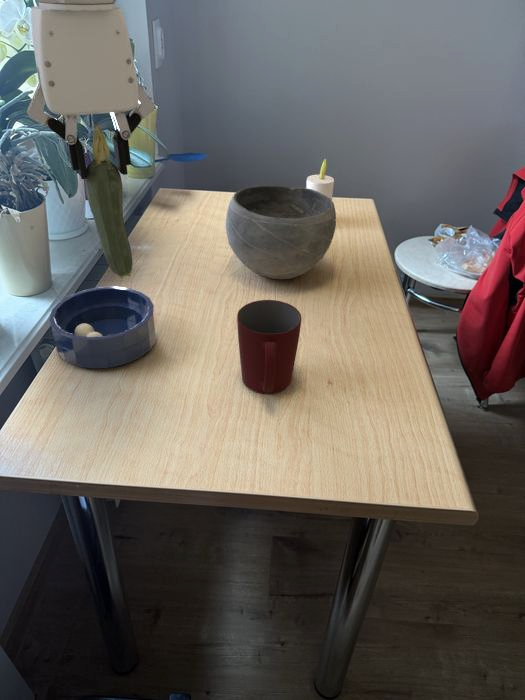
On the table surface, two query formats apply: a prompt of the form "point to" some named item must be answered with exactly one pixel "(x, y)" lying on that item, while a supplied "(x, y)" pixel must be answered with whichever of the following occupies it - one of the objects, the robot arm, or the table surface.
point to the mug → (268, 344)
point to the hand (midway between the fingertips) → (102, 172)
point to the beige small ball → (83, 329)
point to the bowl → (280, 229)
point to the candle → (321, 182)
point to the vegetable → (108, 206)
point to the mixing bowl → (104, 326)
